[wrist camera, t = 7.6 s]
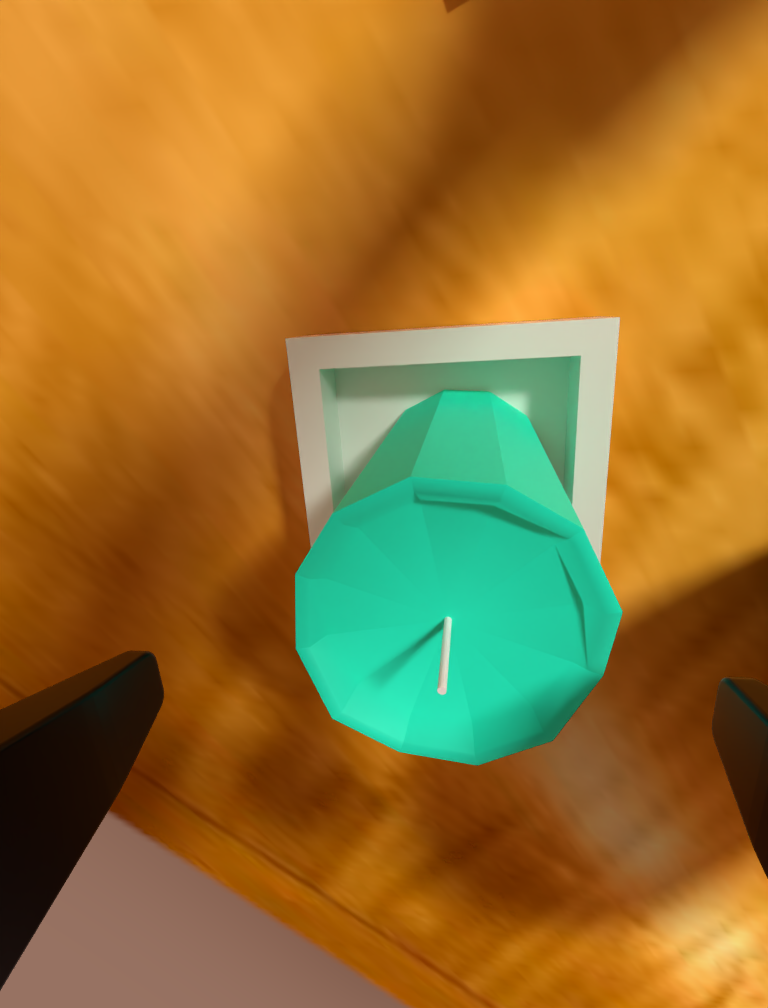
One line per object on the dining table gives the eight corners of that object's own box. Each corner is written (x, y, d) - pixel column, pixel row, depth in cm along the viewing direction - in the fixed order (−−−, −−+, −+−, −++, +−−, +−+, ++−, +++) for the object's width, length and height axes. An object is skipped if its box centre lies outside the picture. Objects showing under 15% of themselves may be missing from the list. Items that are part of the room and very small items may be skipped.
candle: (453, 574, 21) (428, 881, 10) (347, 463, 20) (184, 658, 9) (582, 478, 19) (742, 728, 7) (469, 349, 18) (460, 415, 7)
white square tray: (600, 316, 17) (626, 317, 14) (580, 604, 21) (598, 653, 18) (308, 335, 19) (277, 339, 16) (336, 598, 23) (315, 641, 20)
